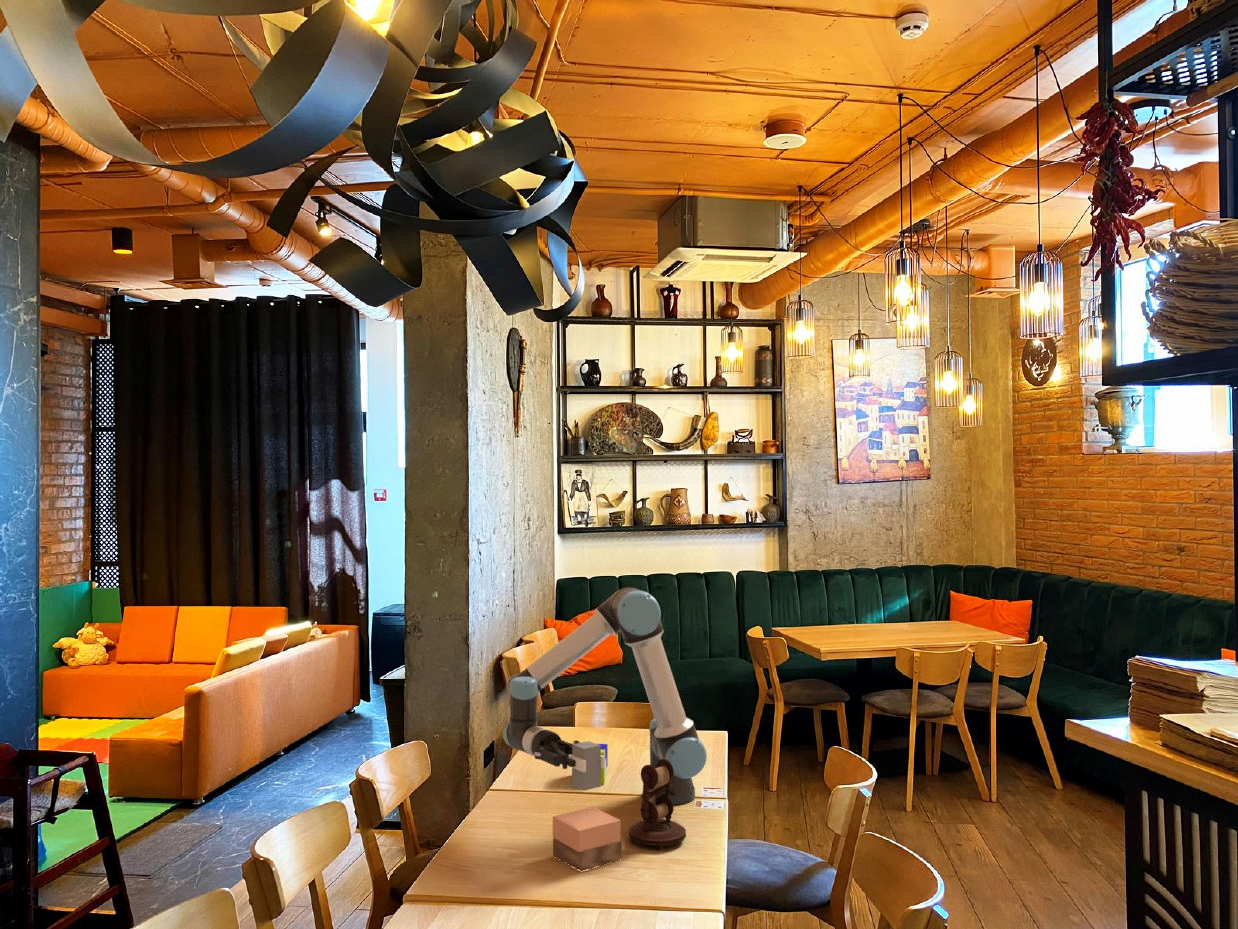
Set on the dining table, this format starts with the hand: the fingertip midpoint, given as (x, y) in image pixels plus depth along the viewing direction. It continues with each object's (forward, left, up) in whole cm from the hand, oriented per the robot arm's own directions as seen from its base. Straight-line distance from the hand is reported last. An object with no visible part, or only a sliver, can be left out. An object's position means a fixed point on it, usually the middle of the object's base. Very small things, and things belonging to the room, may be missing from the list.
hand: (594, 764), depth 215 cm
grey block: (0, -3, -6) cm, 7 cm away
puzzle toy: (-37, -53, -24) cm, 69 cm away
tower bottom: (0, -3, -24) cm, 24 cm away
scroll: (-21, -1, -24) cm, 32 cm away
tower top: (0, -3, -19) cm, 19 cm away
